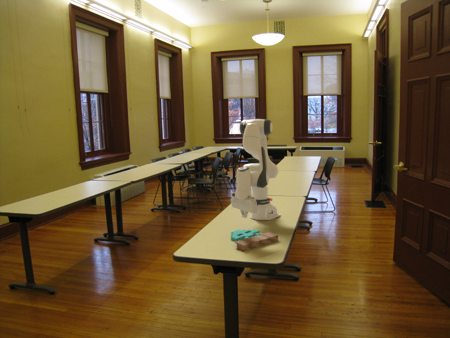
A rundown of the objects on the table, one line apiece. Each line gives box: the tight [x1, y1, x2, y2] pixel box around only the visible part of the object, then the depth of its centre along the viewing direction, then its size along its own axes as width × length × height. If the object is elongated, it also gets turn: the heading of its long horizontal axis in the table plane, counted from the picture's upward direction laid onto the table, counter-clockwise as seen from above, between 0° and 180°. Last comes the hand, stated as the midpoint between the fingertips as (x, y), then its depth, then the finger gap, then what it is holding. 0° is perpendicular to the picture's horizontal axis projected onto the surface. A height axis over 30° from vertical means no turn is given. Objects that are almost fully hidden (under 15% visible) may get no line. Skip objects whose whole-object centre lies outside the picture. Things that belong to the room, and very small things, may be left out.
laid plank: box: [234, 231, 279, 252], centre depth 207 cm, size 26×8×3 cm, turn 127°
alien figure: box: [230, 228, 264, 242], centre depth 220 cm, size 20×2×20 cm
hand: (244, 217), depth 217 cm, fingers closed
